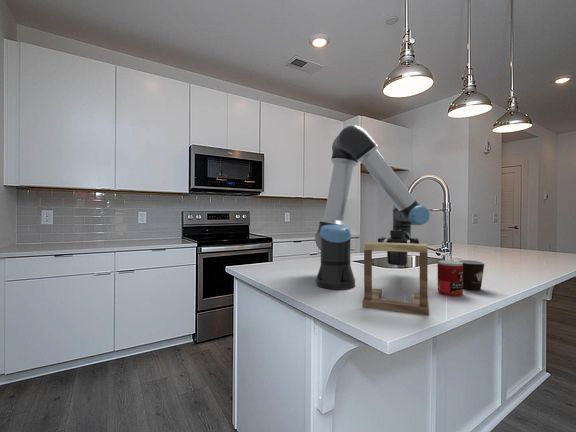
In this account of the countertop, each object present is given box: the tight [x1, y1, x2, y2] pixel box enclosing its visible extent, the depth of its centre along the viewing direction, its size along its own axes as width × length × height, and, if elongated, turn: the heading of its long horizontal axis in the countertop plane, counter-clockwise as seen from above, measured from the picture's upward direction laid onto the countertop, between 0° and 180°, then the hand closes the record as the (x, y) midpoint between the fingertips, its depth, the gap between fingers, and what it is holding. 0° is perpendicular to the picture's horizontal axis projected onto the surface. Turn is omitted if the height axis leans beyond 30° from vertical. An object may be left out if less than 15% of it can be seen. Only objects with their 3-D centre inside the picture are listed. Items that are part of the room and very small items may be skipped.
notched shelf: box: [362, 241, 430, 316], centre depth 91 cm, size 15×18×19 cm
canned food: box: [437, 259, 464, 297], centre depth 102 cm, size 8×8×11 cm
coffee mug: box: [457, 259, 485, 292], centre depth 108 cm, size 12×9×10 cm
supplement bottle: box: [386, 229, 409, 266], centre depth 103 cm, size 7×7×12 cm
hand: (396, 245), depth 99 cm, fingers closed on supplement bottle, 7 cm apart
